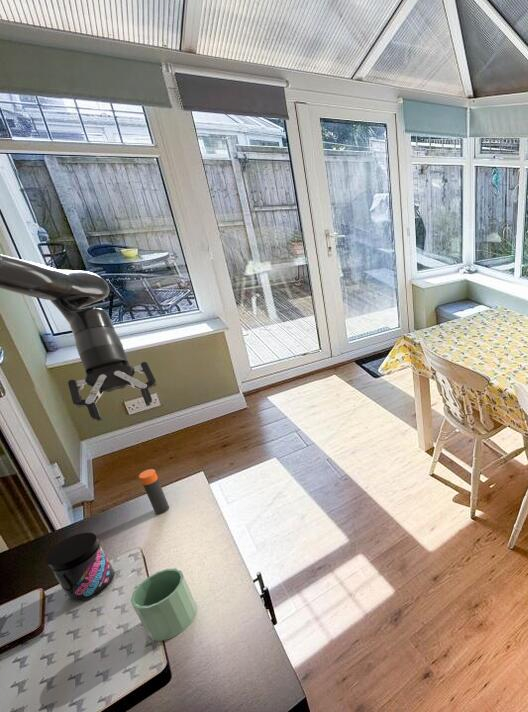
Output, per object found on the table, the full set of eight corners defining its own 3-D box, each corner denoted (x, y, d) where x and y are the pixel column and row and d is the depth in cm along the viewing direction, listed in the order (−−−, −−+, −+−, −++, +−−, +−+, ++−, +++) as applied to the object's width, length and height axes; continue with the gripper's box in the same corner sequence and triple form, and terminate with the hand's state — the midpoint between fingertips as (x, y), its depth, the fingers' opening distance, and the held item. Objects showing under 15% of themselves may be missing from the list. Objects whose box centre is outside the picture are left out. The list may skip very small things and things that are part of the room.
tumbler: (143, 648, 70) (125, 615, 66) (154, 610, 76) (137, 577, 72) (193, 629, 73) (178, 597, 69) (199, 594, 79) (186, 562, 75)
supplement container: (69, 611, 75) (44, 572, 71) (67, 585, 79) (44, 547, 75) (118, 586, 79) (98, 548, 75) (114, 562, 84) (95, 526, 79)
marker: (153, 516, 94) (137, 479, 90) (156, 507, 96) (140, 471, 92) (168, 512, 95) (153, 475, 91) (170, 503, 98) (156, 467, 93)
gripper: (53, 353, 89) (77, 420, 87) (138, 335, 99) (161, 395, 96) (63, 366, 95) (85, 429, 92) (142, 347, 104) (164, 404, 102)
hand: (124, 412), depth 94 cm, fingers open, 8 cm apart
